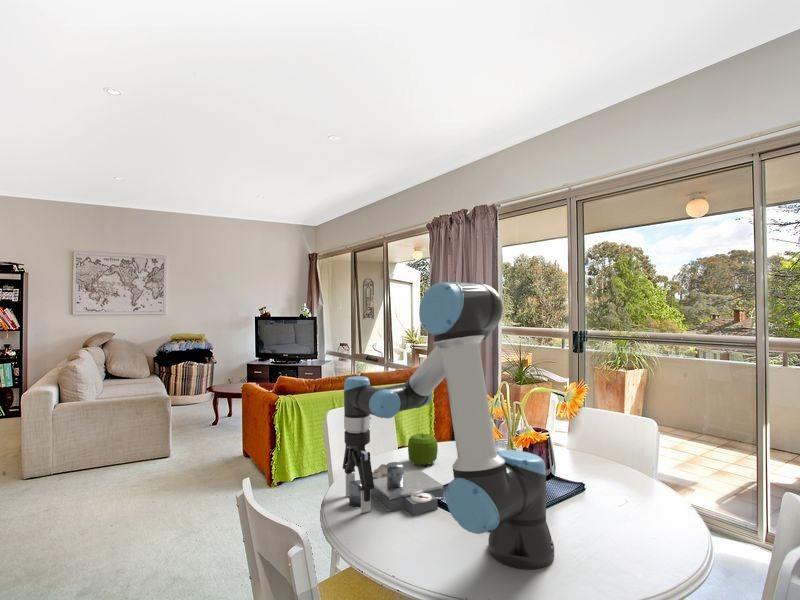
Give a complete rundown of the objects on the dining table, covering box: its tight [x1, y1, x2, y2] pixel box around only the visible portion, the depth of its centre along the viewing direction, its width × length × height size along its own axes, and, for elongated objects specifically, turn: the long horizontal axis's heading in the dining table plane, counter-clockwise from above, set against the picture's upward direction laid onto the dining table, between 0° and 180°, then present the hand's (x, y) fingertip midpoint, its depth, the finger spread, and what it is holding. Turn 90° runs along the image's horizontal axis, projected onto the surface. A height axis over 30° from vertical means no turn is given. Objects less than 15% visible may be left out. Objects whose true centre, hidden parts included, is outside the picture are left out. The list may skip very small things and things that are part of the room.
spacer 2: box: [386, 461, 404, 488], centre depth 138 cm, size 5×5×6 cm
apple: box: [407, 432, 439, 466], centre depth 169 cm, size 11×11×11 cm
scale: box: [371, 487, 444, 516], centre depth 137 cm, size 20×18×4 cm
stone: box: [372, 464, 387, 479], centre depth 154 cm, size 15×10×4 cm, turn 146°
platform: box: [373, 470, 444, 500], centre depth 140 cm, size 14×18×1 cm
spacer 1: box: [348, 479, 362, 508], centre depth 135 cm, size 5×5×6 cm
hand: (357, 503), depth 135 cm, fingers open, 12 cm apart
